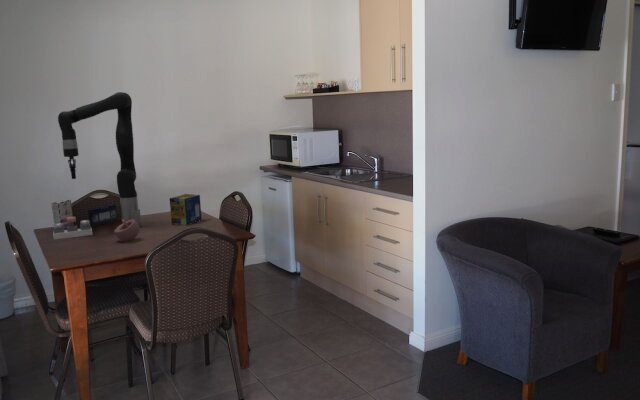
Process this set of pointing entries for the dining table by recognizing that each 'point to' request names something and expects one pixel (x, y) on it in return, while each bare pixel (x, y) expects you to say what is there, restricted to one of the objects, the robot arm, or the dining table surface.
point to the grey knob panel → (72, 232)
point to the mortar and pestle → (127, 230)
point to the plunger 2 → (84, 222)
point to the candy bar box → (62, 212)
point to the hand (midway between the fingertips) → (73, 178)
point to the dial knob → (71, 220)
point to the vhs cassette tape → (102, 215)
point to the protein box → (185, 209)
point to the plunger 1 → (58, 225)
